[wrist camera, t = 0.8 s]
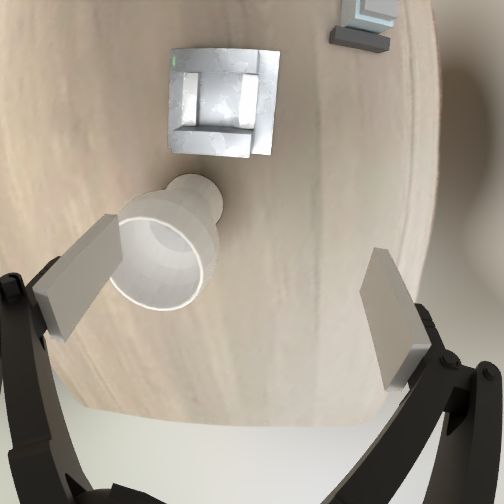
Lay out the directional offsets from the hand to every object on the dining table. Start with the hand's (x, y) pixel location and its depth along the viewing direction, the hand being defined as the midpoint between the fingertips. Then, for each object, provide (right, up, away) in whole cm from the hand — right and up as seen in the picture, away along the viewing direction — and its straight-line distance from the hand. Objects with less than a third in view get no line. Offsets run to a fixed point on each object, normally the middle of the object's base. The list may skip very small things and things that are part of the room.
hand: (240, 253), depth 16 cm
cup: (-7, +6, +24) cm, 26 cm away
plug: (+12, +26, +11) cm, 30 cm away
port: (-3, +17, +17) cm, 24 cm away
